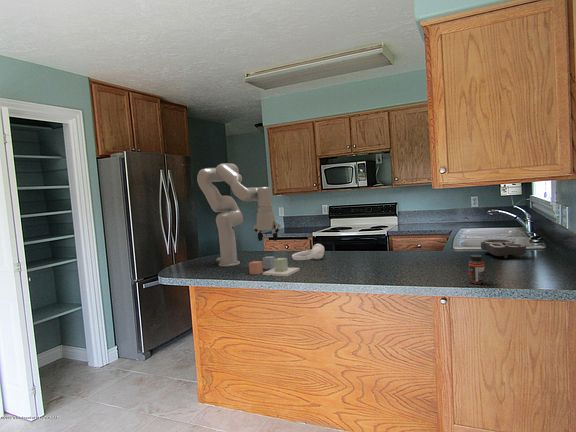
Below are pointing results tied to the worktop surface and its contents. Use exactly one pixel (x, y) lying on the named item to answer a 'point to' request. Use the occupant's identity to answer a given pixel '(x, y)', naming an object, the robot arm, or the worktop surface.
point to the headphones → (314, 253)
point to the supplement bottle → (476, 270)
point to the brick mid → (268, 262)
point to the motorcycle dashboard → (503, 247)
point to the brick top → (256, 267)
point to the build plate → (277, 273)
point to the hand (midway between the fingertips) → (267, 240)
